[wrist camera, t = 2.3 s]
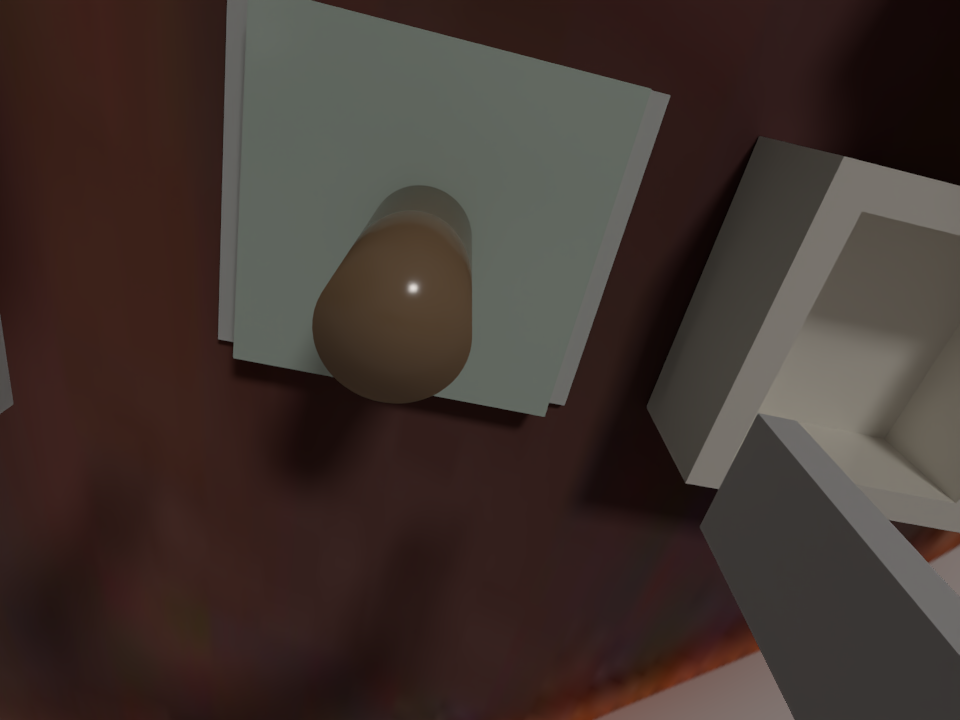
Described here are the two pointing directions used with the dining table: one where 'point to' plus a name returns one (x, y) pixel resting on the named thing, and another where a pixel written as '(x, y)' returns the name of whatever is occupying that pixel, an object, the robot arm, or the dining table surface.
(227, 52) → the mat
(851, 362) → the dish
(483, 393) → the lid
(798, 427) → the robot arm
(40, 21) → the dining table surface
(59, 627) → the dining table surface
